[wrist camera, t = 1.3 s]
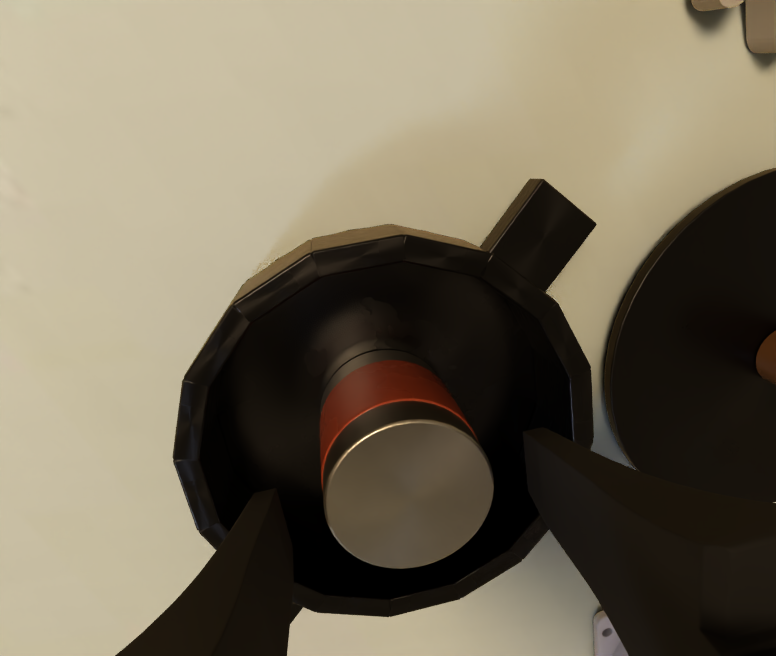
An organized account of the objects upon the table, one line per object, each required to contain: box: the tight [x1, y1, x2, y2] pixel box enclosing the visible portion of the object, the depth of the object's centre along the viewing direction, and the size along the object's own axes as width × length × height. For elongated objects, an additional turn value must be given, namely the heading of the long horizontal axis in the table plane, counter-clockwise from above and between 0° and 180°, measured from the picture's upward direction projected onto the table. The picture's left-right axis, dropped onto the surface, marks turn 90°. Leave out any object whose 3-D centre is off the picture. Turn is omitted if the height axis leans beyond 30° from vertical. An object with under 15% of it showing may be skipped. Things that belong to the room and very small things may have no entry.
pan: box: [173, 179, 596, 624], centre depth 18 cm, size 14×19×3 cm
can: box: [320, 350, 494, 569], centre depth 17 cm, size 5×5×6 cm
